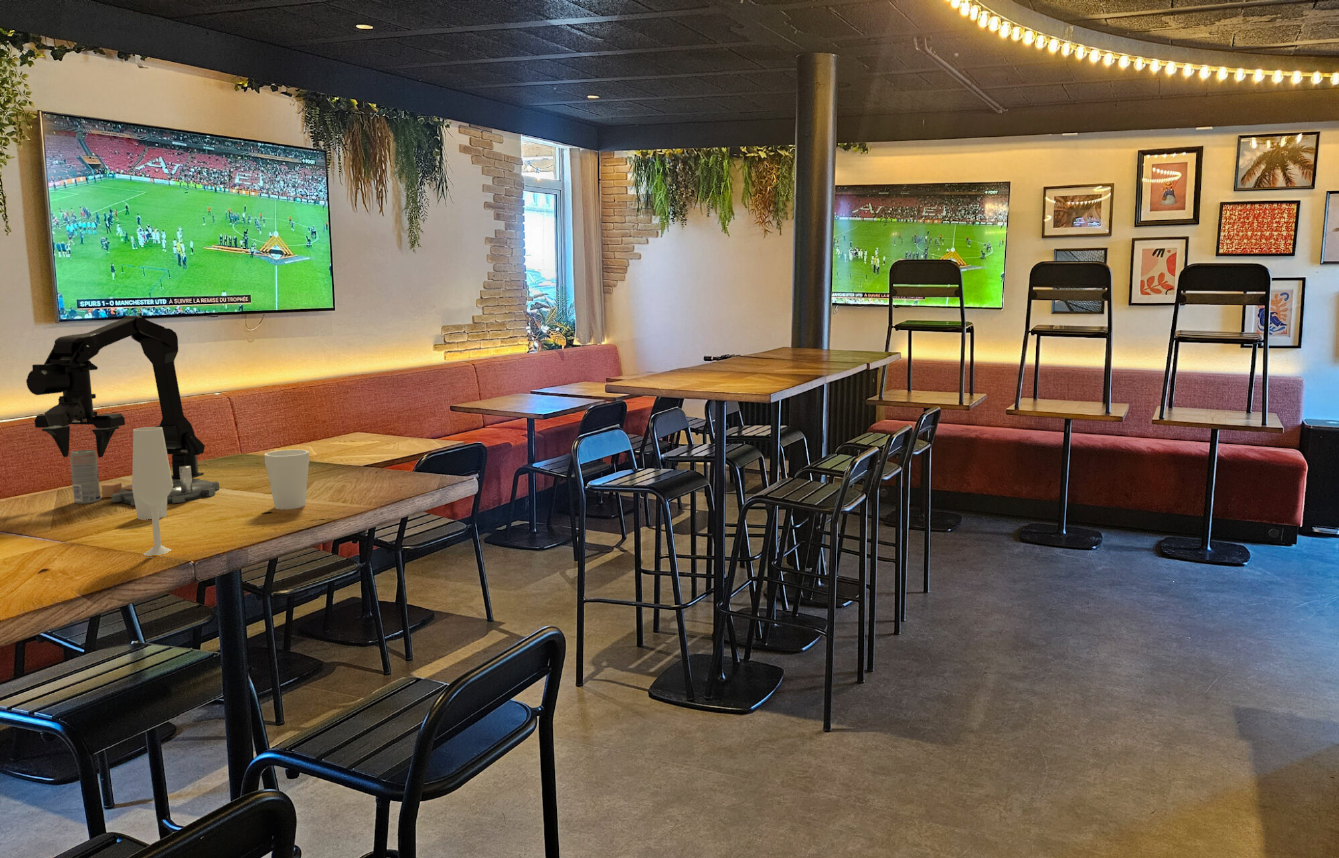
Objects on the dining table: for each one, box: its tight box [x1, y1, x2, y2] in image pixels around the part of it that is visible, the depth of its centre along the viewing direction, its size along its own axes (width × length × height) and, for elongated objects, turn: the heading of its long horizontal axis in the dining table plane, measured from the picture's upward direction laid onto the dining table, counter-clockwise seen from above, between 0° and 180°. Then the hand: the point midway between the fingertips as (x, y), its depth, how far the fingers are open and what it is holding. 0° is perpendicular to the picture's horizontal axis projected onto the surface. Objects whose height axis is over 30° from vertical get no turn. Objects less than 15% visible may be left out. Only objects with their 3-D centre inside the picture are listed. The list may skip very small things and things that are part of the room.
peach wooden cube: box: [100, 482, 123, 498], centre depth 234 cm, size 3×3×3 cm
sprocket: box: [111, 466, 220, 506], centre depth 232 cm, size 23×23×8 cm
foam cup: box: [264, 448, 310, 510], centre depth 218 cm, size 10×9×13 cm
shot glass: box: [132, 490, 168, 521], centre depth 211 cm, size 7×7×7 cm
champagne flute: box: [131, 426, 173, 556], centre depth 179 cm, size 7×7×24 cm
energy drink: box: [69, 449, 102, 505], centre depth 228 cm, size 5×5×12 cm
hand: (83, 457), depth 227 cm, fingers open, 8 cm apart
